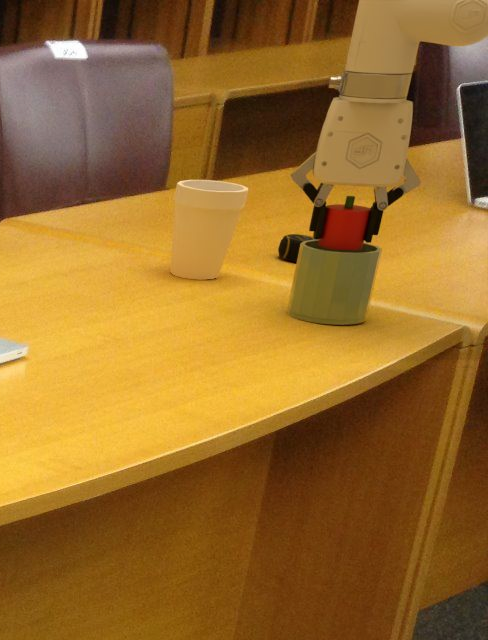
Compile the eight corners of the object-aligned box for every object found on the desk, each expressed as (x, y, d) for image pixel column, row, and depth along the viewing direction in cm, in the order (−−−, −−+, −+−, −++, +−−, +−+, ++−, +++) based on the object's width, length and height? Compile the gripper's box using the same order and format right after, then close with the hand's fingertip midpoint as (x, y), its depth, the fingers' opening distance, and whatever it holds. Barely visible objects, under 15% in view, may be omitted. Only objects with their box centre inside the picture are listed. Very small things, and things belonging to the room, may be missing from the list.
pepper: (370, 249, 195) (382, 197, 192) (344, 253, 192) (356, 200, 190) (334, 242, 199) (345, 191, 196) (308, 246, 196) (319, 194, 194)
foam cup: (145, 273, 222) (163, 181, 216) (196, 269, 225) (215, 178, 219) (189, 288, 214) (209, 193, 208) (241, 284, 217) (263, 190, 211)
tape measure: (330, 269, 227) (336, 244, 225) (282, 266, 228) (288, 241, 226) (317, 259, 233) (323, 234, 231) (270, 256, 234) (276, 231, 232)
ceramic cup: (381, 323, 196) (397, 251, 192) (315, 326, 194) (330, 254, 190) (336, 306, 204) (351, 238, 200) (272, 309, 203) (286, 240, 199)
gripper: (301, 88, 186) (271, 240, 194) (456, 93, 181) (419, 249, 189) (297, 82, 193) (268, 230, 201) (447, 87, 188) (411, 238, 196)
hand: (341, 237), depth 195 cm, fingers closed on pepper, 5 cm apart
